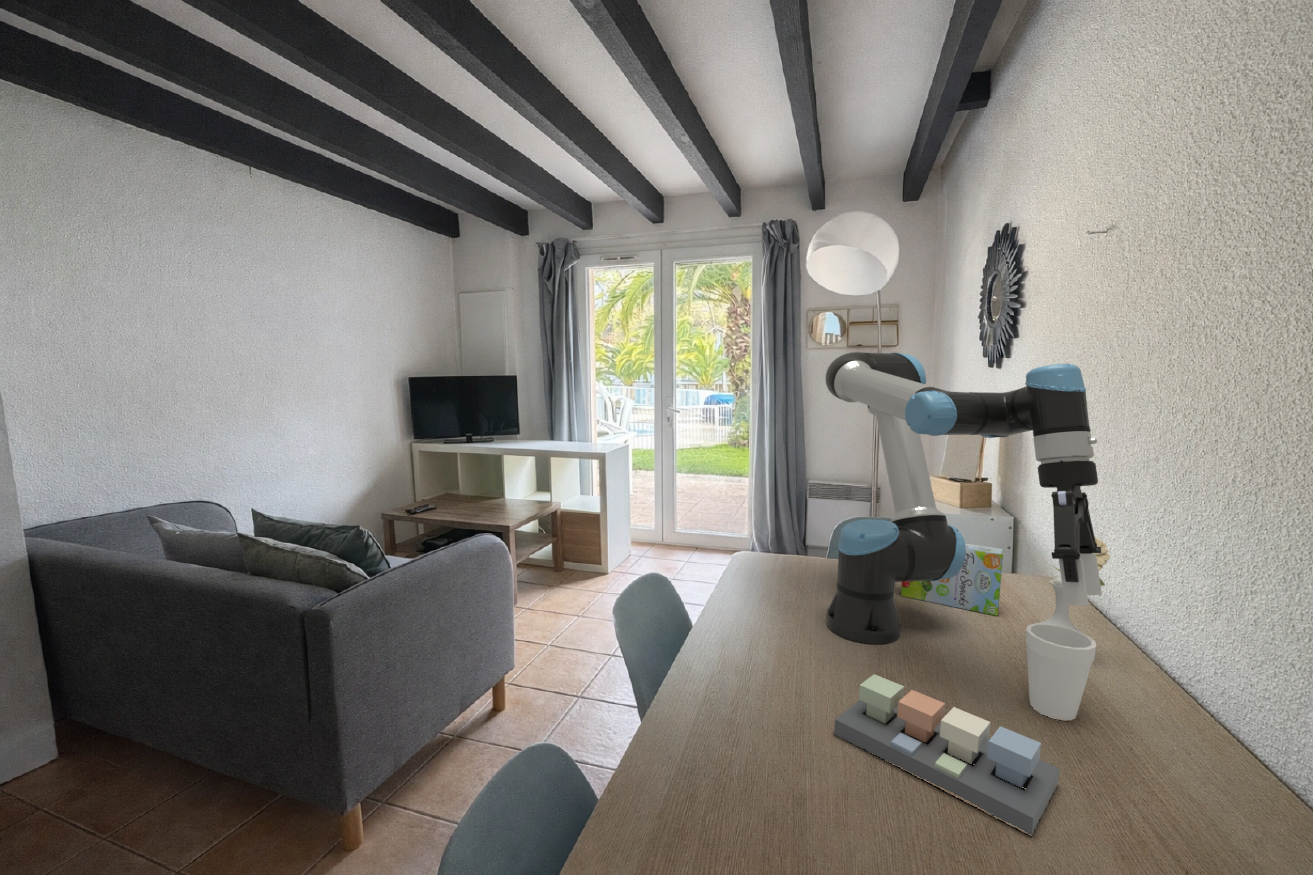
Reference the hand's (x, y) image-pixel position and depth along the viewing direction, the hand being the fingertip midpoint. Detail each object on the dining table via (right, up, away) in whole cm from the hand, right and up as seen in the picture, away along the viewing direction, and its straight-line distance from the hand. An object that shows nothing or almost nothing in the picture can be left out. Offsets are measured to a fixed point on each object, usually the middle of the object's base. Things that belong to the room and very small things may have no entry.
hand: (1084, 599), depth 87 cm
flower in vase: (+18, -19, +29) cm, 39 cm away
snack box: (+6, -16, +53) cm, 55 cm away
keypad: (-25, -22, -5) cm, 33 cm away
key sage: (-31, -18, +1) cm, 36 cm away
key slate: (-18, -20, -12) cm, 30 cm away
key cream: (-22, -20, -7) cm, 31 cm away
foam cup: (+1, -21, +8) cm, 22 cm away
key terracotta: (-27, -19, -3) cm, 33 cm away
